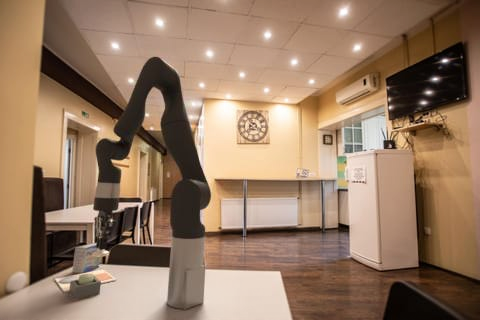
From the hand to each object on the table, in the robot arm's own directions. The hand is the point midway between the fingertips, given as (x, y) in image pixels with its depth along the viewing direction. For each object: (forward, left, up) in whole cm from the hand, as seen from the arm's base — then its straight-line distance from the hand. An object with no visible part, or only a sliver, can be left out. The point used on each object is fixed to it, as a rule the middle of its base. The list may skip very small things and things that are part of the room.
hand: (101, 248), depth 78 cm
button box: (-9, +6, -10) cm, 15 cm away
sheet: (+1, +3, -10) cm, 10 cm away
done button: (-9, +6, -7) cm, 13 cm away
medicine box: (+13, 0, -10) cm, 17 cm away
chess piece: (0, 0, -2) cm, 2 cm away
